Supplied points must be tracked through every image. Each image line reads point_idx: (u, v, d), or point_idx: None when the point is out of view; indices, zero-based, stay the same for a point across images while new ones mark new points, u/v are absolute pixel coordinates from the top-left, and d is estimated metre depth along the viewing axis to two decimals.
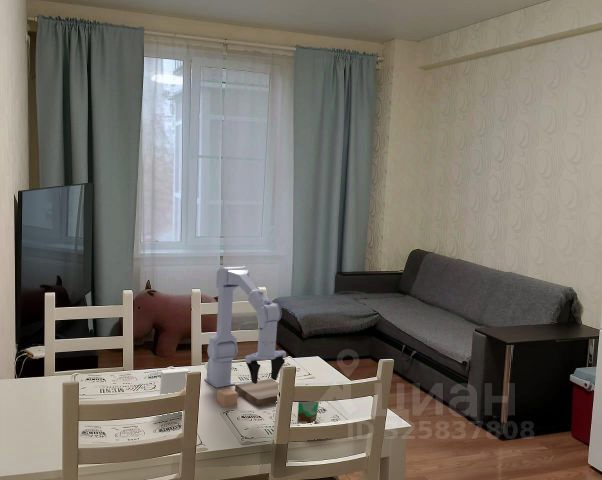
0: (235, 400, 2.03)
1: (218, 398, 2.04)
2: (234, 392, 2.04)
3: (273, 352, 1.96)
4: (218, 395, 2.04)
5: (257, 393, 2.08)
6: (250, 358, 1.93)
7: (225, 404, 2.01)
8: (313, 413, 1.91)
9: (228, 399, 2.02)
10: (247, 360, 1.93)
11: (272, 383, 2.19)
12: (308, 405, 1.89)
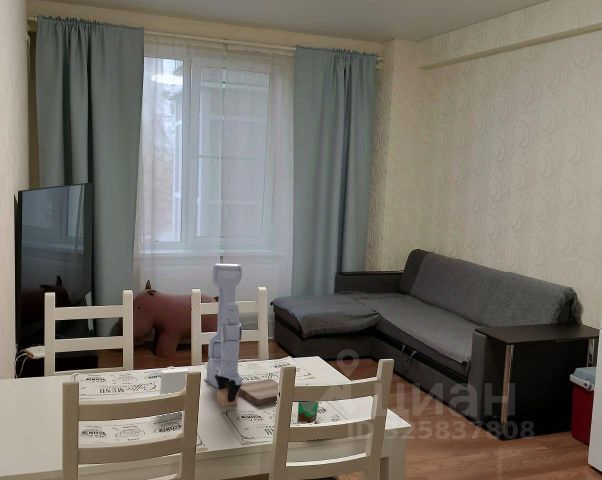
0: (235, 400, 2.03)
1: (218, 397, 2.04)
2: None
3: (223, 371, 2.01)
4: (218, 395, 2.04)
5: (257, 393, 2.08)
6: (216, 367, 2.08)
7: (225, 403, 2.01)
8: (313, 413, 1.91)
9: None
10: None
11: (272, 383, 2.19)
12: (308, 405, 1.89)
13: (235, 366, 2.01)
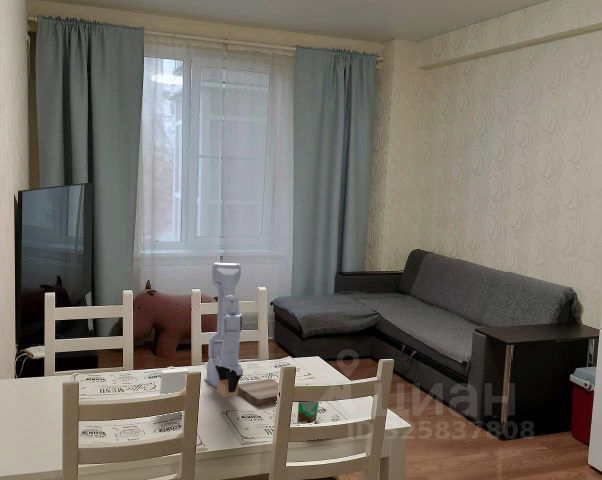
0: (236, 390, 2.03)
1: (218, 388, 2.04)
2: None
3: (224, 361, 2.00)
4: (218, 385, 2.04)
5: (257, 393, 2.08)
6: (217, 358, 2.08)
7: (225, 394, 2.01)
8: (313, 413, 1.91)
9: None
10: None
11: (272, 383, 2.19)
12: (308, 405, 1.89)
13: (236, 356, 2.01)
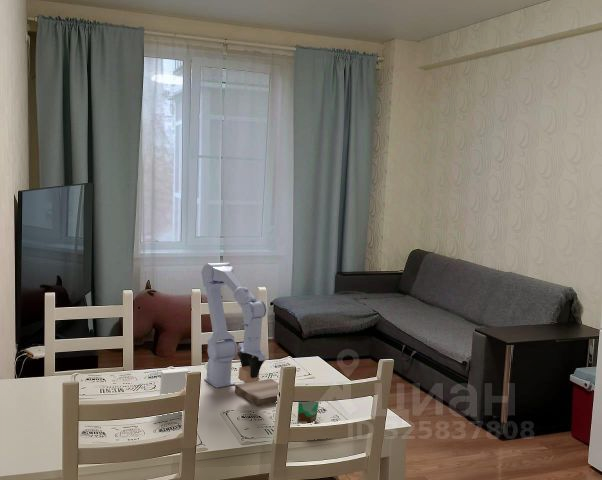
0: (257, 377, 2.07)
1: (240, 375, 2.08)
2: None
3: (246, 347, 2.05)
4: (239, 372, 2.08)
5: (257, 393, 2.08)
6: (239, 345, 2.12)
7: (246, 380, 2.05)
8: (313, 413, 1.91)
9: (250, 376, 2.06)
10: None
11: (272, 383, 2.19)
12: (308, 405, 1.89)
13: (258, 343, 2.05)
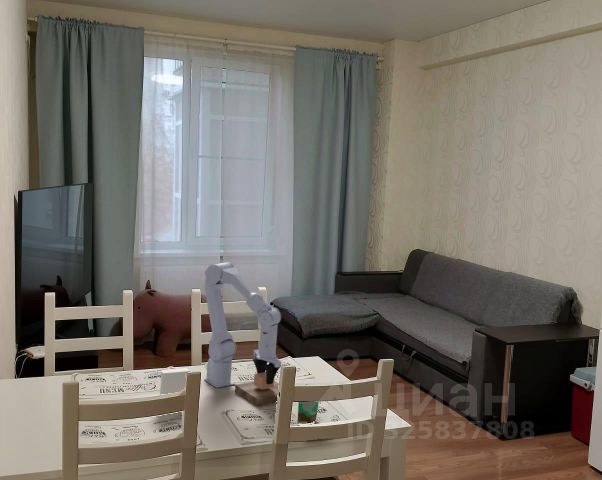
0: None
1: (255, 381, 2.12)
2: None
3: (262, 354, 2.09)
4: (255, 378, 2.13)
5: (257, 393, 2.08)
6: (254, 351, 2.16)
7: (262, 386, 2.09)
8: (313, 413, 1.91)
9: (265, 382, 2.10)
10: None
11: None
12: (308, 405, 1.89)
13: (273, 350, 2.10)
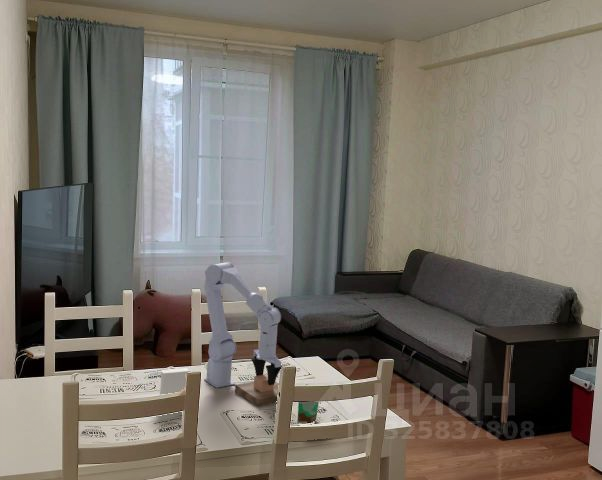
0: (271, 386, 2.12)
1: (255, 384, 2.12)
2: None
3: (262, 354, 2.09)
4: (254, 381, 2.13)
5: (257, 393, 2.08)
6: (254, 351, 2.16)
7: (262, 389, 2.10)
8: (313, 413, 1.91)
9: (265, 385, 2.10)
10: None
11: None
12: (308, 405, 1.89)
13: (273, 350, 2.10)
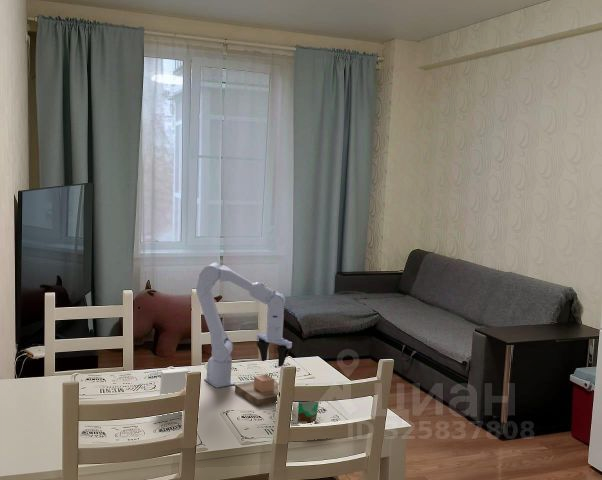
0: (271, 386, 2.12)
1: (255, 384, 2.12)
2: (270, 378, 2.12)
3: (272, 337, 2.16)
4: (254, 381, 2.13)
5: (257, 393, 2.08)
6: (258, 336, 2.22)
7: (262, 389, 2.10)
8: (313, 413, 1.91)
9: (265, 385, 2.10)
10: None
11: None
12: (308, 405, 1.89)
13: (282, 332, 2.18)
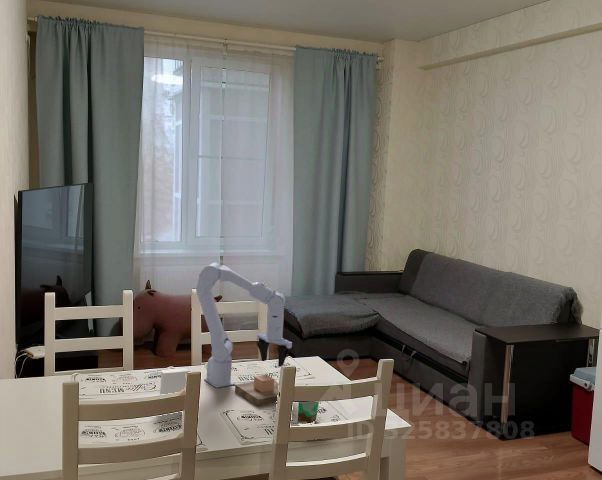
0: (271, 386, 2.12)
1: (255, 384, 2.12)
2: (270, 378, 2.12)
3: (272, 337, 2.16)
4: (254, 381, 2.13)
5: (257, 393, 2.08)
6: (258, 336, 2.22)
7: (262, 389, 2.10)
8: (313, 413, 1.91)
9: (265, 385, 2.10)
10: None
11: None
12: (308, 405, 1.89)
13: (282, 332, 2.18)
